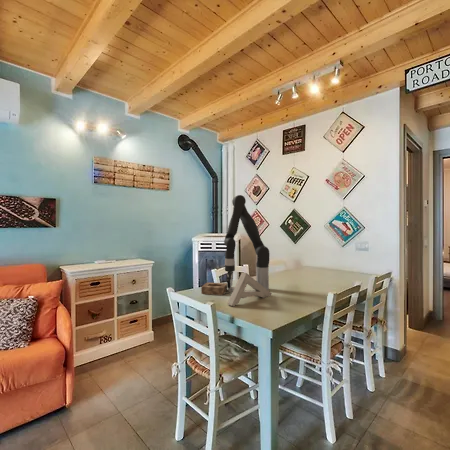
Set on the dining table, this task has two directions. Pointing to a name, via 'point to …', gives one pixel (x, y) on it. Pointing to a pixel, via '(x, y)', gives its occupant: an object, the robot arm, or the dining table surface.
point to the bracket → (231, 287)
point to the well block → (214, 288)
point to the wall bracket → (240, 292)
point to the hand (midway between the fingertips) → (229, 286)
